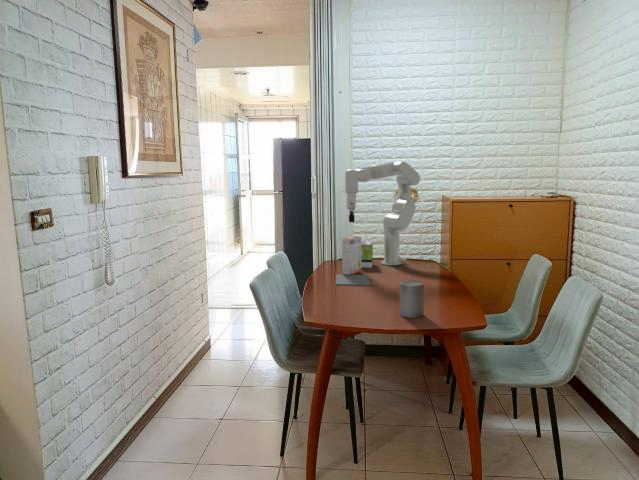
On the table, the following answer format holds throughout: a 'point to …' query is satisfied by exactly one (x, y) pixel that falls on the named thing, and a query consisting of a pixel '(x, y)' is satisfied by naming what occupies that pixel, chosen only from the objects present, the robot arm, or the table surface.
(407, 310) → the pillar candle
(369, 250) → the tea box
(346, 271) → the cracker box
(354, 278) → the mat
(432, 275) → the table surface
